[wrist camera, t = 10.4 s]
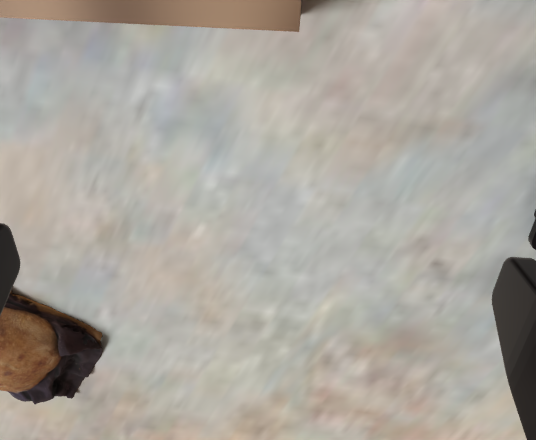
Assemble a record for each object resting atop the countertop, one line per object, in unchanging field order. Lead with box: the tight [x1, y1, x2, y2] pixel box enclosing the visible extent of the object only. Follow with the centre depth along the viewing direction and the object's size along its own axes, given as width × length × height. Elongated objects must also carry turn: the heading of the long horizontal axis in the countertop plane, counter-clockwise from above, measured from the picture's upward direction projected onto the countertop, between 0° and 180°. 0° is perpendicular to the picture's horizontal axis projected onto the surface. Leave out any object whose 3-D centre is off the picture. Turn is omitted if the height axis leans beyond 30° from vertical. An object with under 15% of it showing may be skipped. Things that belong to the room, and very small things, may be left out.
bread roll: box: [0, 291, 102, 404], centre depth 30 cm, size 11×8×4 cm
